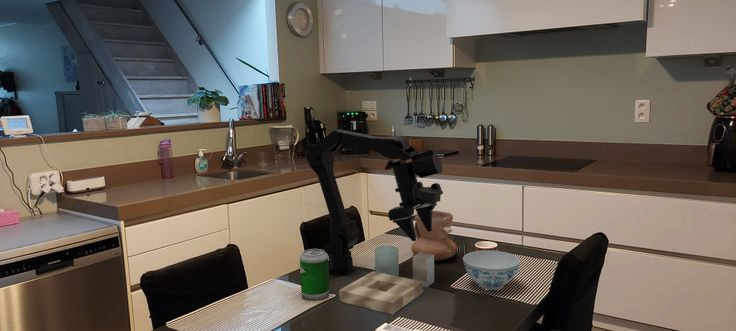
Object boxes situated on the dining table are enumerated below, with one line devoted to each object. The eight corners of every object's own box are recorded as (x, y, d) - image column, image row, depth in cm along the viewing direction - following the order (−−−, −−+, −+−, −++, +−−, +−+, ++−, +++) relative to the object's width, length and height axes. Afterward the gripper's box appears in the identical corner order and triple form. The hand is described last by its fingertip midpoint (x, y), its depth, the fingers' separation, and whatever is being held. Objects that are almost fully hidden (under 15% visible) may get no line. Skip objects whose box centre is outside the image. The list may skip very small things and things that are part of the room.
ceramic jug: (468, 260, 164) (468, 216, 162) (431, 268, 157) (430, 222, 156) (435, 246, 180) (434, 206, 178) (399, 253, 173) (398, 211, 171)
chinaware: (473, 273, 153) (473, 247, 152) (525, 281, 145) (525, 254, 144) (455, 291, 140) (455, 263, 139) (511, 301, 133) (511, 272, 131)
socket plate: (339, 301, 135) (339, 290, 135) (373, 281, 148) (372, 271, 148) (392, 314, 127) (392, 302, 126) (423, 292, 140) (423, 281, 139)
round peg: (371, 277, 152) (370, 250, 151) (383, 270, 158) (382, 244, 156) (391, 281, 148) (390, 254, 147) (402, 273, 154) (402, 247, 153)
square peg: (412, 284, 146) (412, 256, 145) (420, 279, 149) (420, 252, 148) (427, 287, 143) (426, 259, 142) (434, 282, 147) (434, 254, 146)
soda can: (333, 291, 142) (332, 248, 140) (322, 302, 135) (320, 257, 133) (308, 288, 144) (306, 246, 143) (296, 299, 137) (294, 255, 136)
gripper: (415, 182, 131) (432, 242, 131) (447, 169, 146) (462, 222, 147) (379, 190, 137) (396, 247, 138) (413, 177, 153) (428, 228, 153)
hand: (422, 236), depth 144 cm, fingers open, 9 cm apart
